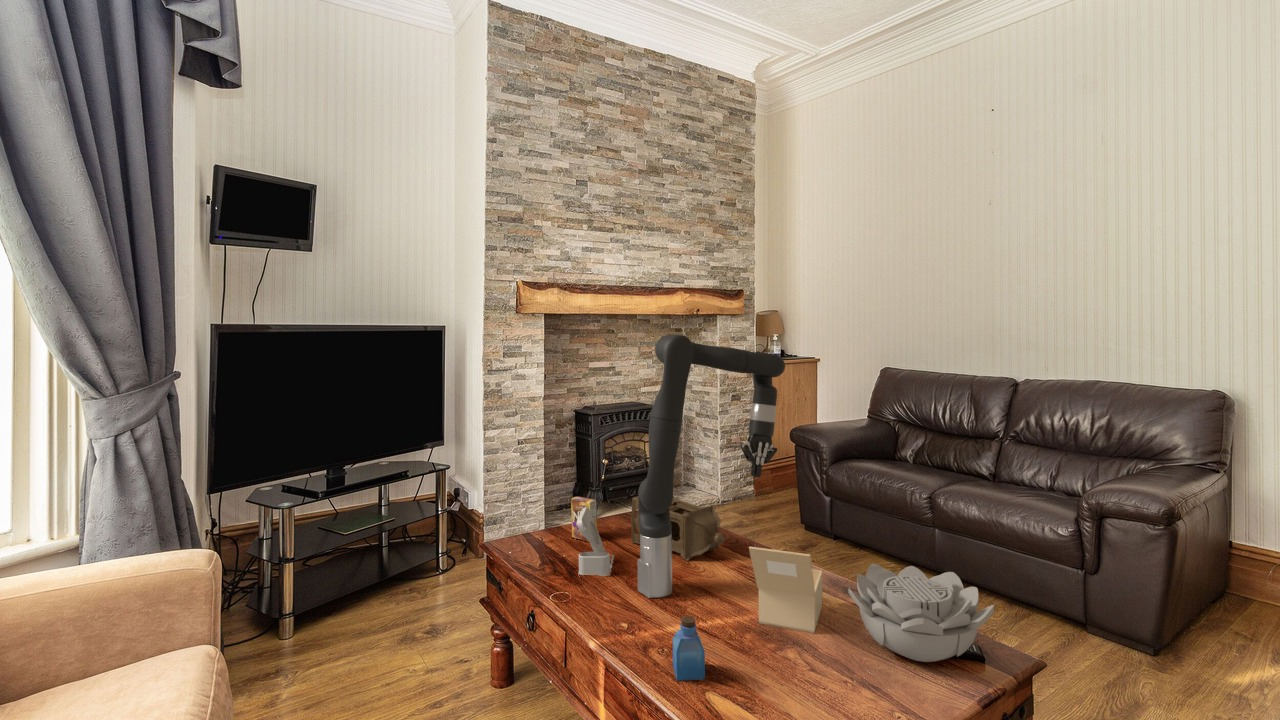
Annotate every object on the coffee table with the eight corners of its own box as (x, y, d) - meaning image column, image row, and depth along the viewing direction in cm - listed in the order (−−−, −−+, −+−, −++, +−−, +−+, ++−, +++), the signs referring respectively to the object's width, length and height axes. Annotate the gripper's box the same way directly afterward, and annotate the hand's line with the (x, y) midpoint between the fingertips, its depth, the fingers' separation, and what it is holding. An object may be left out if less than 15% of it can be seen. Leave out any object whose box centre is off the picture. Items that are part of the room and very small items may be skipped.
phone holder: (609, 577, 188) (608, 520, 187) (577, 577, 188) (576, 520, 187) (614, 556, 205) (613, 504, 204) (584, 556, 206) (583, 504, 205)
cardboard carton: (770, 598, 172) (770, 563, 171) (822, 606, 166) (822, 570, 166) (758, 623, 157) (758, 585, 157) (814, 633, 152) (814, 594, 151)
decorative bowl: (830, 618, 159) (830, 562, 159) (945, 619, 158) (946, 562, 158) (870, 686, 129) (871, 617, 128) (1013, 687, 128) (1014, 617, 127)
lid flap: (749, 546, 148) (748, 548, 147) (810, 554, 142) (810, 556, 141) (757, 585, 157) (757, 587, 156) (815, 594, 151) (815, 597, 151)
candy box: (571, 539, 222) (570, 498, 222) (578, 536, 226) (577, 495, 225) (590, 543, 218) (589, 501, 217) (597, 540, 221) (597, 498, 220)
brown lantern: (736, 564, 204) (742, 509, 204) (704, 573, 191) (709, 514, 192) (660, 537, 229) (665, 488, 229) (626, 543, 216) (632, 491, 216)
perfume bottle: (672, 665, 138) (672, 613, 138) (699, 663, 139) (699, 612, 138) (676, 680, 132) (676, 626, 131) (704, 679, 133) (704, 625, 132)
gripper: (752, 418, 177) (745, 478, 176) (787, 422, 184) (780, 480, 182) (737, 416, 184) (730, 473, 183) (771, 420, 190) (764, 476, 189)
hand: (755, 476), depth 183 cm, fingers closed
